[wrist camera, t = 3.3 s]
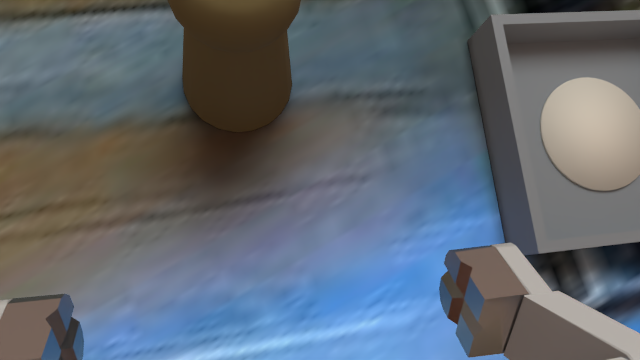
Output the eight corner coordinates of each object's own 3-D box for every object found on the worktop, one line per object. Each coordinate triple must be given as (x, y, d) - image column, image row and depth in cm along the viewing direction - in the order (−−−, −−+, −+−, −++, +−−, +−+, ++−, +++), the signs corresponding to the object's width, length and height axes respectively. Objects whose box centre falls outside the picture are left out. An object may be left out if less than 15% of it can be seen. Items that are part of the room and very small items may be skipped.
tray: (508, 257, 28) (538, 253, 25) (467, 40, 31) (491, 14, 28) (709, 233, 30) (758, 227, 27) (655, 33, 33) (694, 8, 30)
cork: (178, 128, 27) (134, 23, 16) (186, 26, 28) (151, -134, 17) (290, 135, 28) (318, 40, 17) (293, 35, 29) (321, -111, 18)
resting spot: (595, 215, 29) (598, 214, 28) (516, 120, 29) (518, 119, 29) (668, 145, 30) (671, 144, 30) (592, 58, 31) (594, 56, 31)
